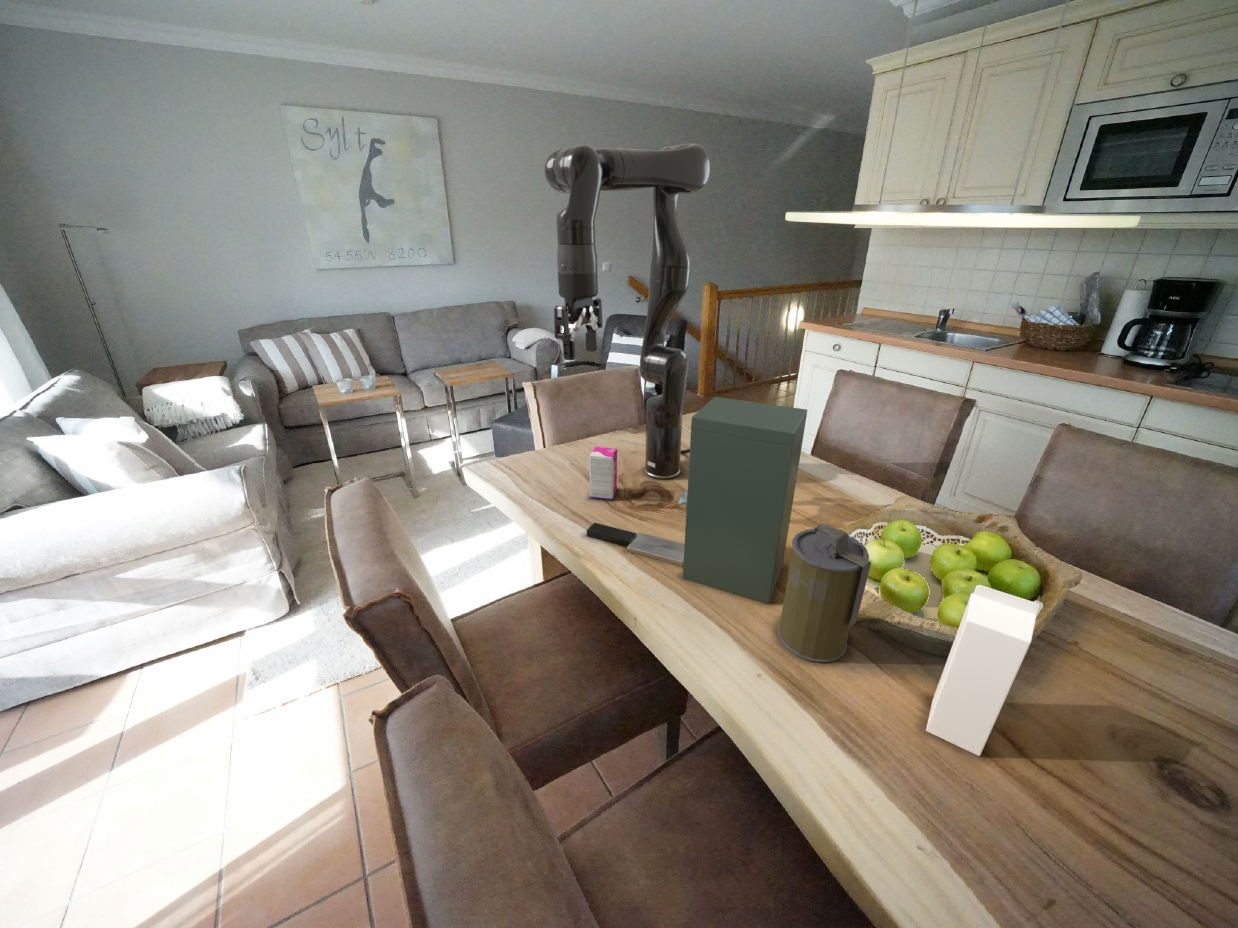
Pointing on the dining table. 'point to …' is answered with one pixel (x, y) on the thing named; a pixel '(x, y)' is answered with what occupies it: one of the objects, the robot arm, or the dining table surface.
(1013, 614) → the milk
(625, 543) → the long-handled flat paddle
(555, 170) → the robot arm
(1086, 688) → the dining table surface
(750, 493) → the tall green lidded box
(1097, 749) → the dining table surface
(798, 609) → the canister
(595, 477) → the supplement box
